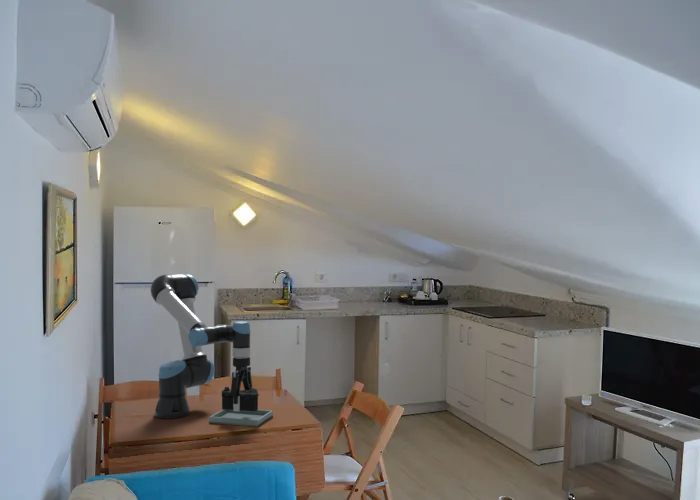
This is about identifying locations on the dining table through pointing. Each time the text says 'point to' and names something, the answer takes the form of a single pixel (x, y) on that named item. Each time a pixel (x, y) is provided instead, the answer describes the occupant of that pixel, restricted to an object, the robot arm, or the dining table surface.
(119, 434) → the dining table surface
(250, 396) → the camera
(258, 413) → the storage tray
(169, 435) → the dining table surface
